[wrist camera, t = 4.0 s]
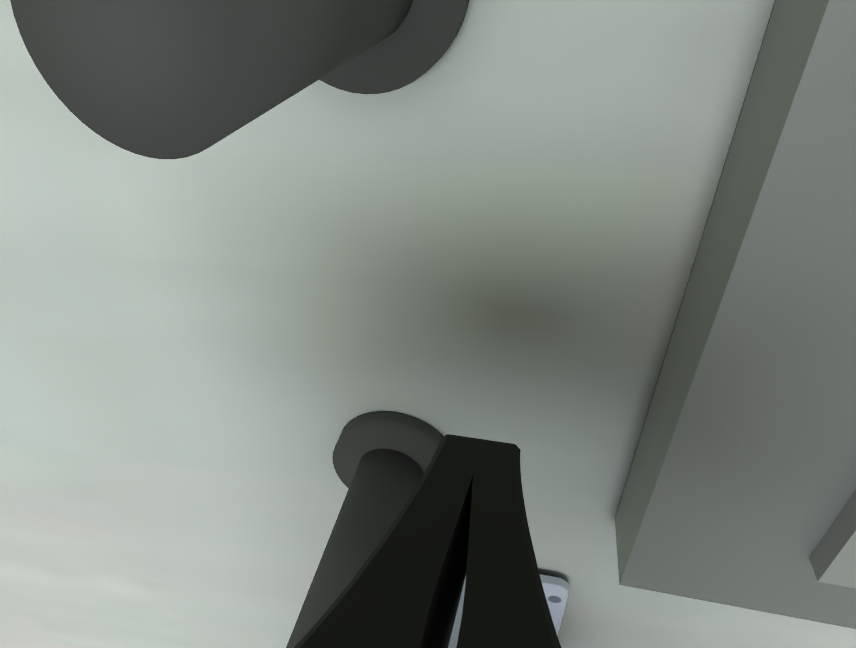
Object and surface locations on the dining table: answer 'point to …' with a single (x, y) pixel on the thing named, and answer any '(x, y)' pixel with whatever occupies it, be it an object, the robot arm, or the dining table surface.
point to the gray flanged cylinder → (367, 499)
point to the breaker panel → (764, 355)
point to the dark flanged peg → (221, 59)
